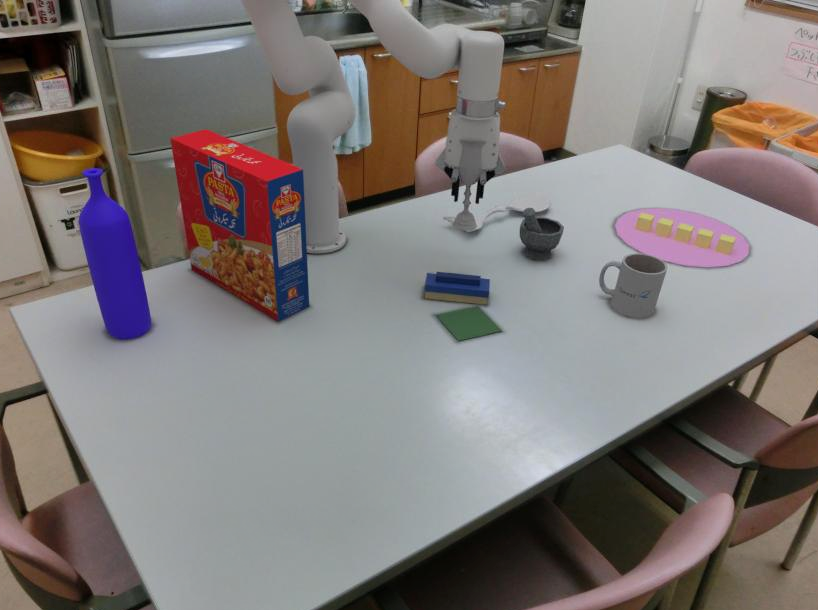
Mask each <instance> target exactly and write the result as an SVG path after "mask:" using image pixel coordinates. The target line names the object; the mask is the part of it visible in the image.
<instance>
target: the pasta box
mask: <svg viewBox="0 0 818 610" xmlns="http://www.w3.org/2000/svg"><path fill="white" fill-rule="evenodd" d="M169 140H170V146H171V151H172V153H171V154H172V158H173V164H174V170H175V178H176V183H177V190H178V195H179V202H180V206H181V214H182V220H183V225H184V232H185V239H186V244H187V250H188V256H189V263H190V269H191V271H192V272H194V273H195V274H197V275H199V276H200V277H202V278H203V279H205V280H207V281H209V282H210V283H212V284H214V286H215V285H216V286H217V287H218V288H220V289H222V290H223V291H225V292H227V293H229V294H231V295H232V296H234V297H235V298H237V299H238V300H240V301H242V302H244V303H245V304H247V305H249V306H251V307H252V308H253V309H255V310H257V311H259V312H261V313H262V314H264V315H266V316H267V317H269V318H271V319H272V320H274V321H276V322H277V323H279V322H281V321H283V320H285V319H287V318H290V317H292V316H293V315H296V314H297V313H300V312H301V311H303V310H305V309H307V308H309V307H310V292H309V291H310V290H309V268H308V253H307V244H306V222H305V200H304V179H303V169H301V168H298V167H296V166H294V165H293V164H291V163H288V162H286V161H284V160H282V159H279V158H277V157H274V156H272V155H270V154H267V153H264V152H262V151H260V150H257V149H255V148H253V147H250V146H247V145H245V144H243V143H241V142H238V141H237V140H233V139H231V138H228V137H226V136H223V135H222V134H219V133H216V132H214V131H212V130H209V129H207V128H206V129H205V128H204V129H201V130H197V131H194V132H190V133H185V134H181V135H177V136H174V137H173V136H172V137H170V139H169Z"/></svg>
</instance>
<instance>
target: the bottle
mask: <svg viewBox="0 0 818 610" xmlns="http://www.w3.org/2000/svg"><path fill="white" fill-rule="evenodd" d="M81 174H82V176H83V177H85V178H86V179H87V182H88V186H89V192H90V194H89V198H88V200H87V201H86V202H85V204H84V206H83V207H82V209H81V211H80V213H79V216H78V227H79V233H80V237H81V241H82V245H83V250H84V255H85V258H86V263H87V265H88V269H89V274H90V277H91V281H92V285H93V288H94V292H95V296H96V299H97V303H98V307H99V310H100V314H101V318H102V320H103V324H104V327H105V329H106V331H107V333H108V335H110V336H111V337H112V338H114V339H119V340H132V339H136V338H140V337H142V336H144V335H145V334H147V333H148V332H149V331H150V329H151V327H152V316H151V310H150V305H149V300H148V294H147V290H146V285H145V280H144V275H143V270H142V265H141V261H140V257H139V256H140V255H139V252H138V247H137V243H136V239H135V234H134V231H133V227H132V223H131V220H130V217H129V214H128V212H127V210H125V209H124V207H123V206H122V205H120V204H119V203H118V202H116V200H114V199H112V198H111V197H110V196H108V195H107V193H106V192H105V190H104V187H103V182H102V176H103V175H104V170H102V169H101V168H96V167H94V168H93V167H92V168H87V169H84V170H83V171H82V173H81Z"/></svg>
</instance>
